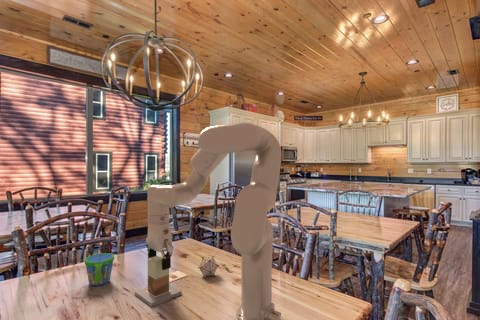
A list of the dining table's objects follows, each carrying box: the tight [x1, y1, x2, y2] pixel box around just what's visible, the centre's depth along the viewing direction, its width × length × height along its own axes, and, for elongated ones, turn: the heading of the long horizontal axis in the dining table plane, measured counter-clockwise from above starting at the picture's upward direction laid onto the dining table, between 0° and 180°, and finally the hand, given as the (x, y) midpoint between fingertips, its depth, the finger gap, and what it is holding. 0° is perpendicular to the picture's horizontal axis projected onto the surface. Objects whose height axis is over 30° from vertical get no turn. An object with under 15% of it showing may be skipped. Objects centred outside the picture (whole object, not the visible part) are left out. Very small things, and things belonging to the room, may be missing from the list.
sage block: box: [147, 254, 170, 279], centre depth 100 cm, size 6×6×6 cm
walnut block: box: [147, 274, 170, 296], centre depth 100 cm, size 6×6×6 cm
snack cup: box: [84, 252, 115, 287], centre depth 110 cm, size 16×10×10 cm
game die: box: [197, 255, 220, 279], centre depth 116 cm, size 9×8×10 cm
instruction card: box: [169, 270, 189, 284], centre depth 115 cm, size 7×10×1 cm
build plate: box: [134, 283, 183, 308], centre depth 100 cm, size 12×12×1 cm
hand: (159, 265), depth 100 cm, fingers open, 9 cm apart
